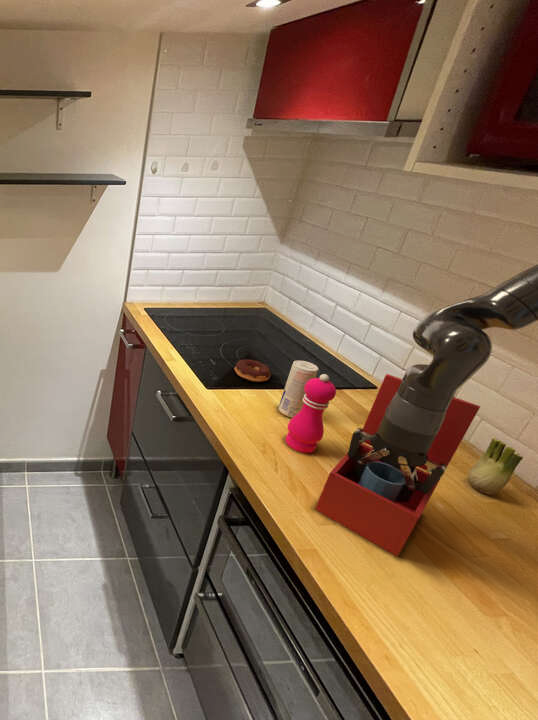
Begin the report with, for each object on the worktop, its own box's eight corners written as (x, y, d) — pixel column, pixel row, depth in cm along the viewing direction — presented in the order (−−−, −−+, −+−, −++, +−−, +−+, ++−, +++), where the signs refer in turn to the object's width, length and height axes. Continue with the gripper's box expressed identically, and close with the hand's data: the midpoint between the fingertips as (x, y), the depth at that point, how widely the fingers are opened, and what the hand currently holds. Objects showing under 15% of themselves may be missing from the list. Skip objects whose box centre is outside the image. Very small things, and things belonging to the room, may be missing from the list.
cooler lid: (479, 407, 78) (485, 397, 81) (385, 374, 88) (393, 366, 91) (441, 477, 85) (447, 465, 88) (357, 440, 95) (366, 430, 98)
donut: (238, 364, 145) (240, 353, 143) (271, 374, 139) (275, 363, 138) (229, 376, 138) (232, 365, 136) (265, 388, 132) (268, 376, 131)
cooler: (397, 556, 81) (418, 517, 77) (314, 509, 91) (330, 472, 87) (420, 515, 90) (440, 478, 86) (342, 475, 100) (357, 441, 96)
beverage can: (306, 418, 119) (324, 370, 113) (286, 419, 118) (303, 370, 112) (292, 406, 124) (308, 359, 118) (273, 407, 123) (288, 360, 117)
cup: (395, 520, 86) (412, 489, 82) (356, 508, 88) (370, 477, 85) (386, 497, 91) (401, 467, 87) (349, 487, 93) (363, 457, 90)
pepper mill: (276, 438, 111) (299, 369, 103) (298, 432, 113) (322, 364, 105) (301, 457, 105) (328, 385, 97) (324, 451, 107) (352, 380, 99)
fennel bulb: (500, 501, 93) (529, 457, 88) (469, 493, 96) (496, 449, 91) (489, 483, 98) (516, 440, 93) (460, 475, 100) (485, 433, 95)
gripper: (469, 432, 78) (430, 503, 85) (371, 395, 88) (343, 460, 95) (460, 450, 74) (419, 522, 81) (358, 408, 84) (329, 476, 91)
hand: (378, 488), depth 88 cm, fingers closed on cup, 6 cm apart
